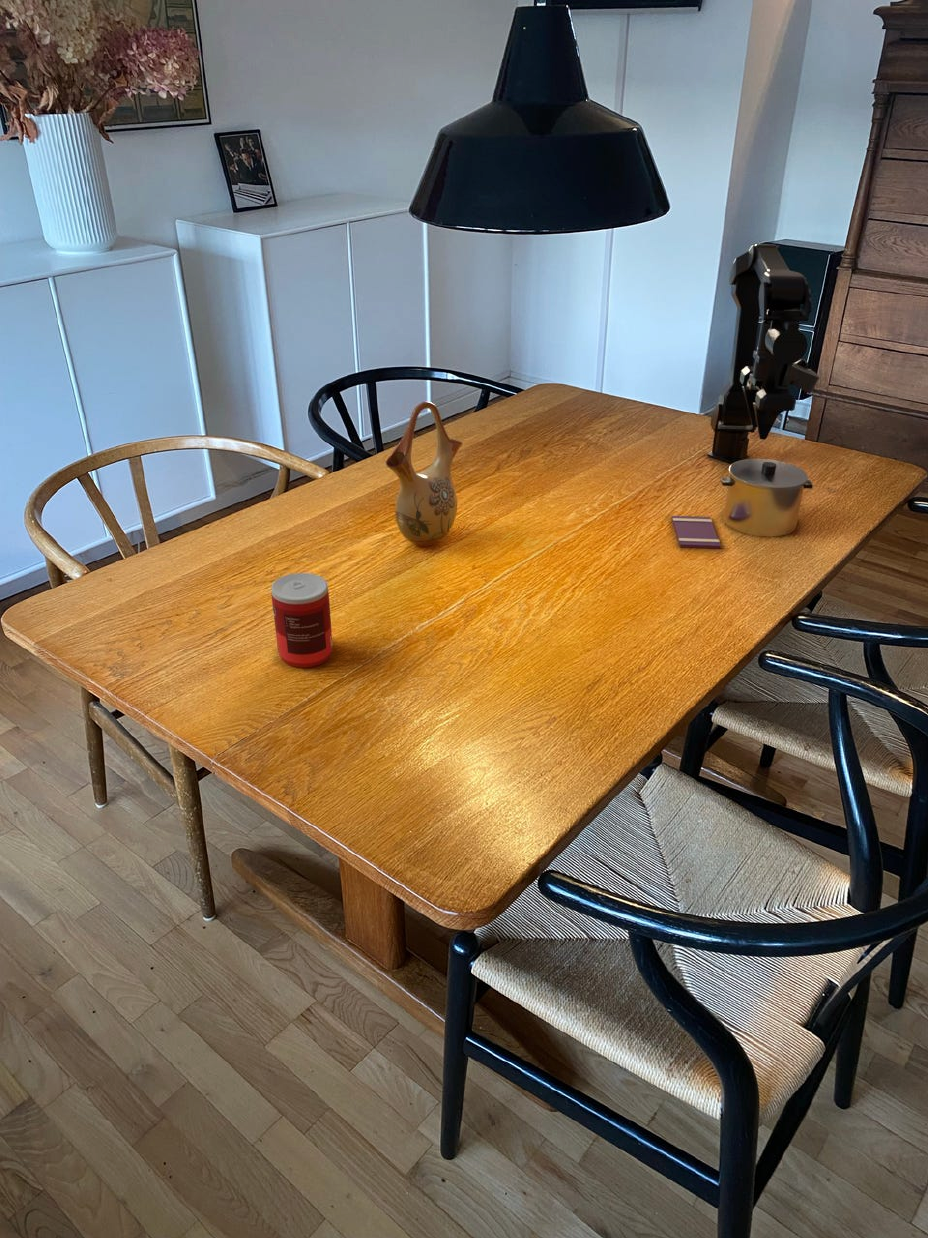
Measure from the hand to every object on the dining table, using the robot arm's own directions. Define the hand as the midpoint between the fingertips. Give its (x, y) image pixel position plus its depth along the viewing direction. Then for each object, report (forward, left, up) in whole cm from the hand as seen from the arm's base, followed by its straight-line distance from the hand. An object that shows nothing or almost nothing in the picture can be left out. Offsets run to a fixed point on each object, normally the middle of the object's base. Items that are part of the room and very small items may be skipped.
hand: (759, 433), depth 173 cm
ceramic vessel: (-26, -59, -13) cm, 66 cm away
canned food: (-9, -95, -13) cm, 97 cm away
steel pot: (+8, -8, -13) cm, 17 cm away
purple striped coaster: (+3, -21, -13) cm, 25 cm away
